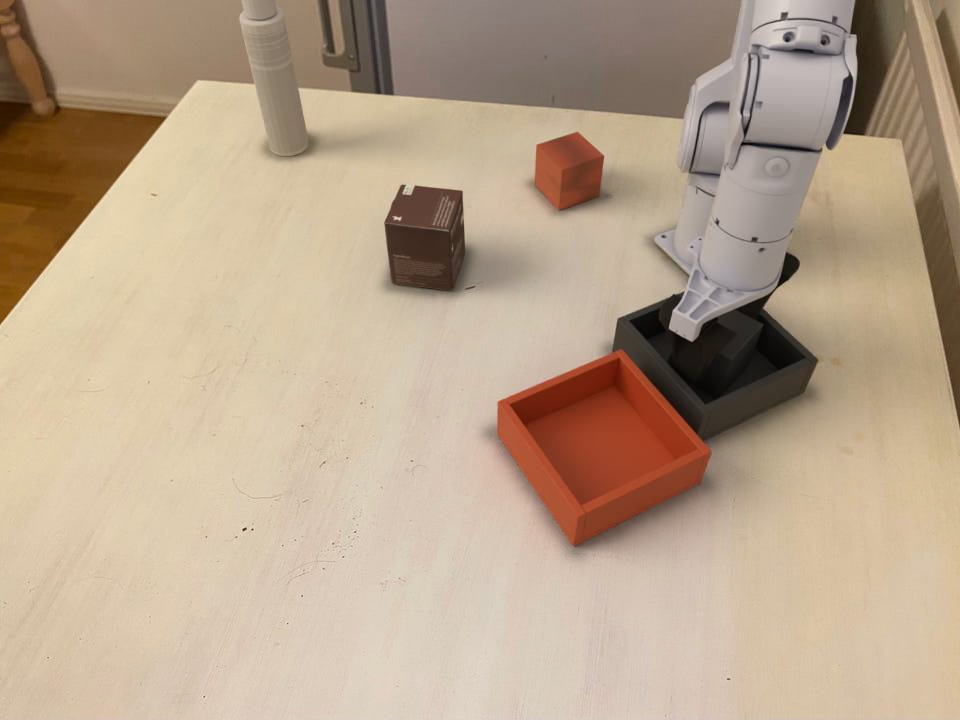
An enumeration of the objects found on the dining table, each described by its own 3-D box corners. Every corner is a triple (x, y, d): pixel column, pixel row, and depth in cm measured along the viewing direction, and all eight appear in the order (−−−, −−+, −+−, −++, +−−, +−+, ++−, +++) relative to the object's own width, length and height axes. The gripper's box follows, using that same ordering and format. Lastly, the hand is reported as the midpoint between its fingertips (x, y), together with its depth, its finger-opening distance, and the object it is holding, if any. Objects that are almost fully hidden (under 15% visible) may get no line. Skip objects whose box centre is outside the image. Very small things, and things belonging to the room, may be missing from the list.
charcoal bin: (716, 307, 74) (726, 273, 71) (804, 392, 67) (819, 359, 64) (611, 351, 70) (617, 318, 67) (693, 446, 64) (703, 413, 61)
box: (452, 293, 75) (449, 231, 70) (389, 285, 76) (382, 223, 71) (466, 251, 79) (464, 189, 74) (406, 243, 80) (400, 181, 75)
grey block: (697, 337, 71) (709, 295, 67) (748, 365, 68) (763, 324, 65) (665, 369, 68) (675, 328, 64) (717, 400, 66) (731, 359, 62)
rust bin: (615, 381, 68) (621, 348, 65) (701, 482, 61) (712, 451, 58) (496, 433, 65) (497, 401, 62) (573, 547, 58) (578, 517, 55)
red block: (573, 171, 88) (577, 131, 84) (599, 196, 85) (604, 155, 81) (534, 184, 86) (536, 144, 83) (558, 210, 83) (562, 170, 80)
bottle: (312, 135, 93) (278, -46, 78) (303, 157, 90) (266, -27, 75) (275, 133, 93) (234, -48, 78) (265, 155, 90) (220, -28, 75)
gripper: (753, 149, 62) (716, 280, 72) (645, 243, 55) (621, 374, 65) (841, 186, 59) (789, 318, 69) (738, 290, 51) (697, 420, 62)
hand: (712, 348), depth 67 cm, fingers open, 7 cm apart
